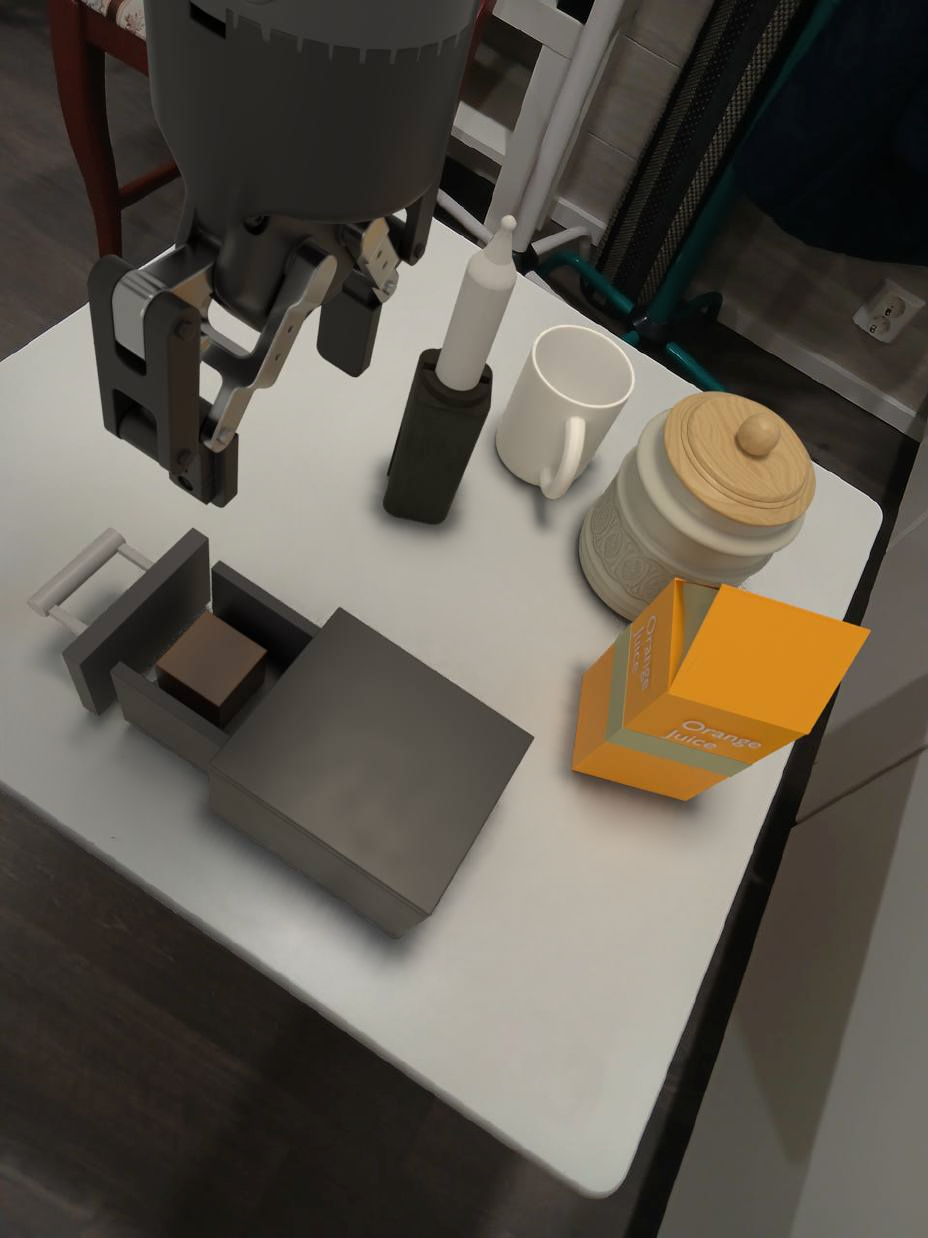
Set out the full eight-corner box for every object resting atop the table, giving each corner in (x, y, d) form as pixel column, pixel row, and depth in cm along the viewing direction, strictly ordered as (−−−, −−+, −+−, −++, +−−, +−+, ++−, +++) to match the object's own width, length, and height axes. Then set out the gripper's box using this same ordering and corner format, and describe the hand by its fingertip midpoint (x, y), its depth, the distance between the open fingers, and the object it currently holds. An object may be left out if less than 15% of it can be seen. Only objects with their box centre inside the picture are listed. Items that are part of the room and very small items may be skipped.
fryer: (211, 811, 49) (207, 763, 41) (322, 672, 55) (339, 605, 47) (396, 939, 49) (430, 916, 40) (489, 784, 55) (535, 736, 46)
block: (159, 693, 50) (153, 663, 46) (207, 641, 52) (206, 608, 48) (219, 734, 50) (218, 707, 46) (265, 680, 52) (268, 650, 48)
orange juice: (582, 673, 61) (722, 523, 44) (691, 705, 62) (868, 571, 45) (570, 772, 57) (719, 649, 40) (686, 804, 58) (879, 698, 41)
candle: (445, 527, 64) (555, 260, 42) (381, 514, 63) (461, 234, 41) (450, 475, 66) (556, 199, 45) (388, 462, 65) (467, 173, 44)
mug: (585, 536, 67) (640, 457, 58) (488, 516, 65) (529, 433, 56) (583, 425, 73) (633, 338, 64) (494, 405, 71) (532, 313, 62)
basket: (18, 662, 50) (-14, 601, 43) (137, 550, 55) (125, 481, 48) (251, 823, 49) (255, 786, 42) (349, 694, 54) (366, 643, 48)
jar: (733, 640, 66) (885, 516, 51) (583, 628, 62) (697, 492, 47) (704, 507, 72) (831, 361, 57) (566, 490, 68) (662, 331, 53)
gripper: (360, -212, 22) (308, 282, 35) (-96, -75, 14) (62, 482, 28) (597, -69, 21) (451, 375, 35) (255, 148, 14) (240, 601, 28)
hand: (278, 422), depth 32 cm, fingers open, 8 cm apart
